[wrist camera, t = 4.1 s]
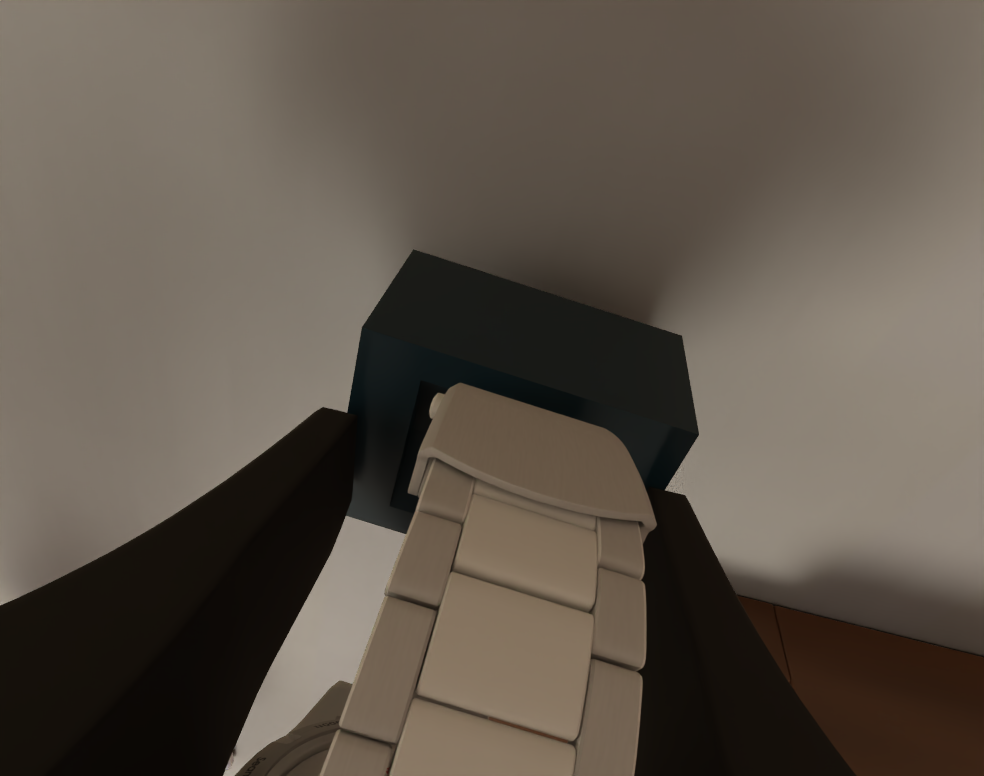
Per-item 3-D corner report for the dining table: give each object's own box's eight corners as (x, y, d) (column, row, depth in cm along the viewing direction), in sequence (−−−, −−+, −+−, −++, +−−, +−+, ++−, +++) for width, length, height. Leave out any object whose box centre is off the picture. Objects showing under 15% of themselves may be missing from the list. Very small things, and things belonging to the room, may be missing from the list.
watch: (366, 472, 16) (56, 1133, 7) (431, 160, 11) (-238, 954, 2) (577, 538, 16) (534, 1266, 7) (729, 257, 12) (1129, 1336, 3)
